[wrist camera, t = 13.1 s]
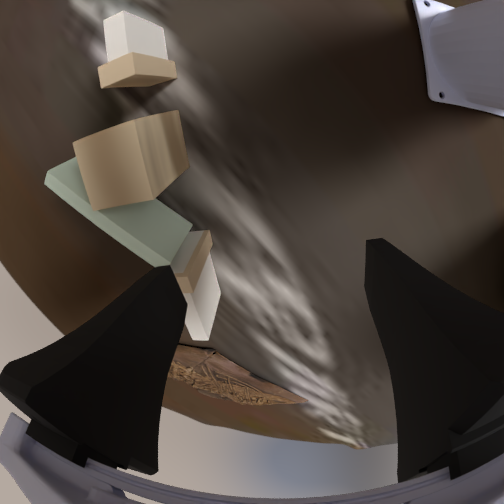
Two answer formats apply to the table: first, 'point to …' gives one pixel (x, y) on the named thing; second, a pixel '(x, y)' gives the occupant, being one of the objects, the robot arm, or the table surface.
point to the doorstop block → (132, 160)
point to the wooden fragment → (225, 378)
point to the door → (125, 217)
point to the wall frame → (145, 75)
